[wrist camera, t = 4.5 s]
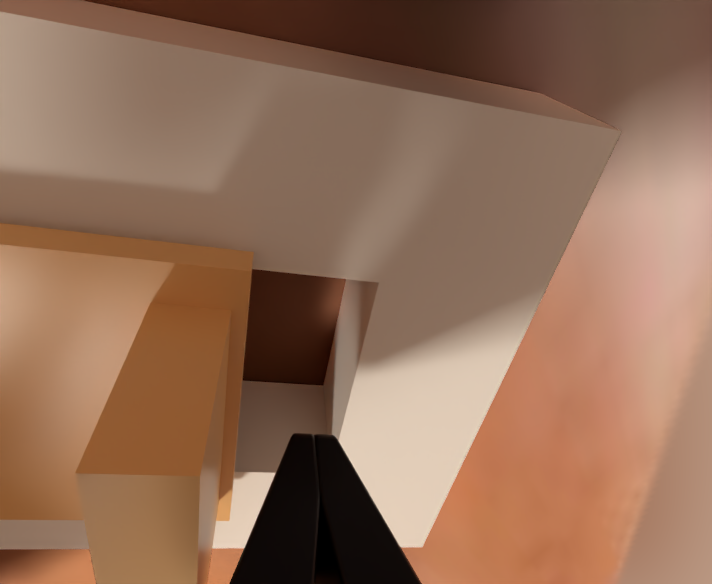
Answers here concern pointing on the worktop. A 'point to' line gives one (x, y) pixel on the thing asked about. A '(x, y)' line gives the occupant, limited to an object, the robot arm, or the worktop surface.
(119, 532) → the orange wooden block
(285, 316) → the worktop surface
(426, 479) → the socket
